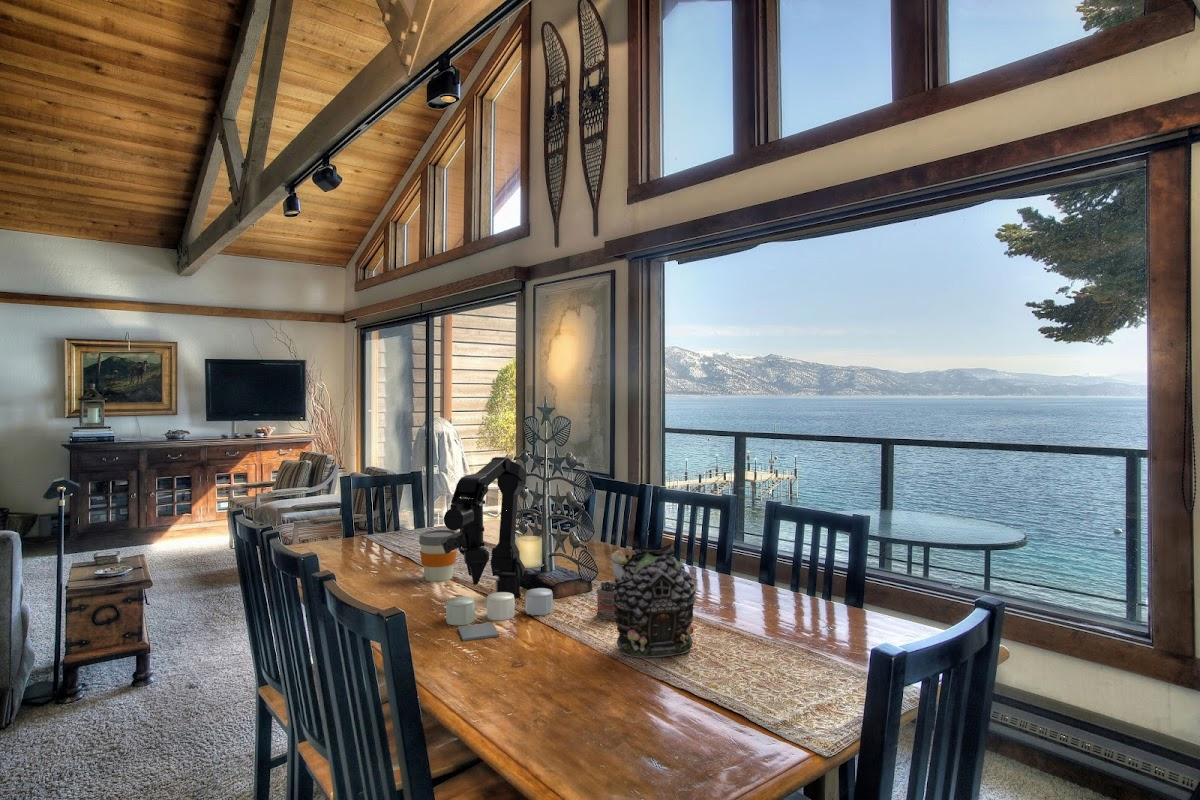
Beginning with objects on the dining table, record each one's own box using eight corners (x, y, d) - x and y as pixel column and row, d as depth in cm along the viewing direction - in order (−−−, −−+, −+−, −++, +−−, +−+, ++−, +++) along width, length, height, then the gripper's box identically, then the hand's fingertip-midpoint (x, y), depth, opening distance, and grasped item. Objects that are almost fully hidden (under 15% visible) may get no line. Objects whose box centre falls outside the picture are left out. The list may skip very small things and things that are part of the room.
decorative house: (622, 666, 149) (621, 555, 148) (604, 642, 163) (603, 541, 163) (707, 656, 154) (707, 549, 154) (682, 633, 169) (682, 536, 168)
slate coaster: (492, 624, 176) (492, 622, 176) (498, 636, 168) (498, 634, 168) (458, 629, 173) (458, 626, 173) (463, 641, 164) (462, 638, 164)
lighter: (594, 617, 182) (594, 580, 182) (600, 613, 185) (600, 577, 185) (620, 621, 178) (620, 584, 178) (626, 617, 181) (626, 581, 181)
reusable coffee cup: (416, 575, 226) (416, 531, 226) (453, 571, 231) (452, 528, 231) (423, 585, 214) (422, 538, 214) (461, 580, 220) (461, 535, 219)
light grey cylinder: (548, 605, 192) (548, 587, 192) (555, 613, 185) (555, 594, 185) (523, 608, 189) (523, 589, 189) (529, 616, 182) (529, 597, 182)
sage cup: (472, 614, 184) (472, 595, 184) (476, 623, 177) (476, 602, 177) (445, 618, 182) (444, 598, 182) (448, 626, 175) (448, 605, 175)
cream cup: (511, 610, 188) (510, 591, 188) (516, 618, 181) (516, 598, 181) (485, 613, 186) (484, 593, 186) (489, 621, 179) (489, 601, 179)
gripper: (439, 519, 187) (440, 573, 187) (445, 532, 169) (446, 593, 170) (478, 516, 190) (479, 570, 191) (489, 529, 173) (489, 588, 173)
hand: (473, 579), depth 181 cm, fingers open, 9 cm apart
